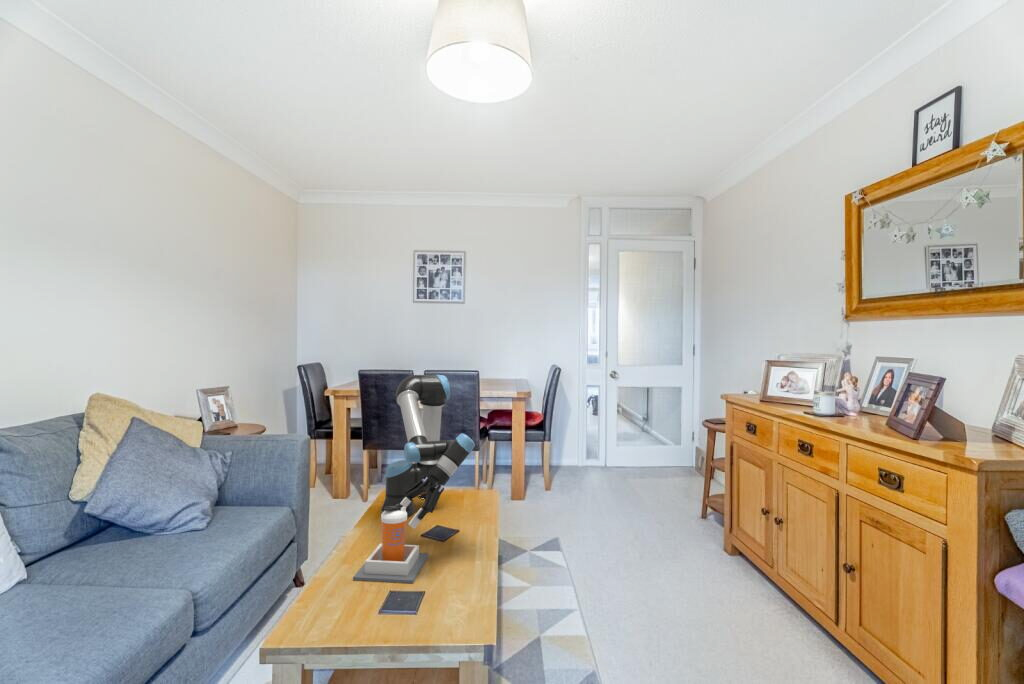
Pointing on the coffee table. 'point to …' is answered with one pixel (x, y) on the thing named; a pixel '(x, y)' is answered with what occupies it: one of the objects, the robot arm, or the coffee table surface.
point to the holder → (393, 566)
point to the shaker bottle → (393, 532)
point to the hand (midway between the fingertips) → (403, 520)
